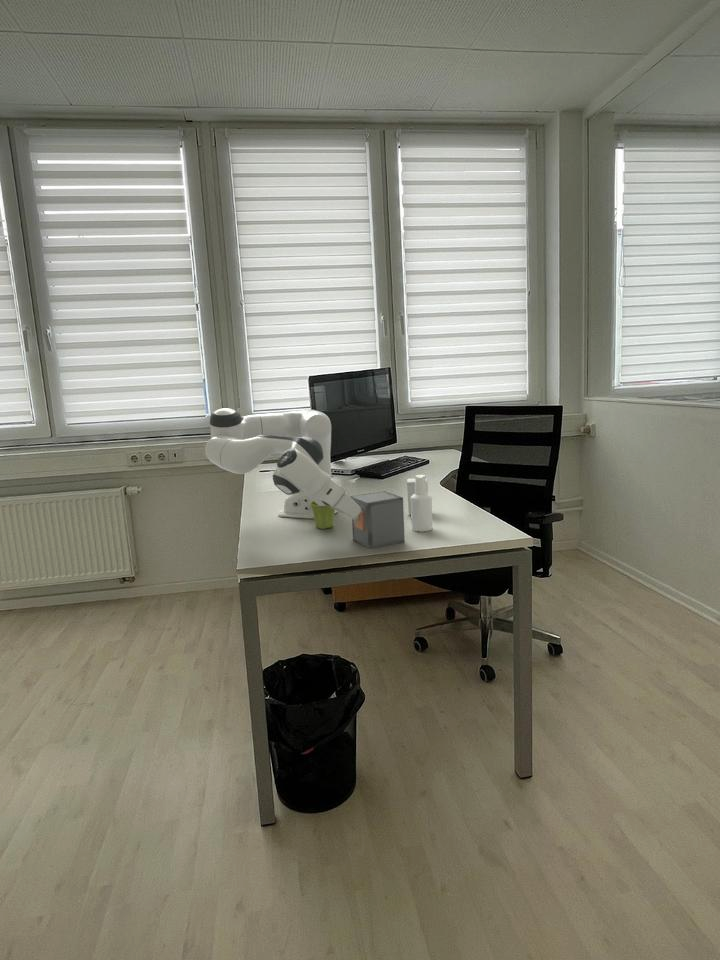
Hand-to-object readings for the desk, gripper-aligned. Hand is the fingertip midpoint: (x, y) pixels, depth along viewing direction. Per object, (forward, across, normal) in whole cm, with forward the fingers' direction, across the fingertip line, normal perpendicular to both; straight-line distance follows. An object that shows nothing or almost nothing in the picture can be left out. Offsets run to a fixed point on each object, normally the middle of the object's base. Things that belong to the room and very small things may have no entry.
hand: (356, 518), depth 181 cm
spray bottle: (+24, -4, +12) cm, 27 cm away
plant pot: (+6, -26, -6) cm, 28 cm away
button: (+5, 0, 0) cm, 5 cm away
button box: (+11, 0, -1) cm, 11 cm away
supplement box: (+31, -24, +19) cm, 44 cm away
